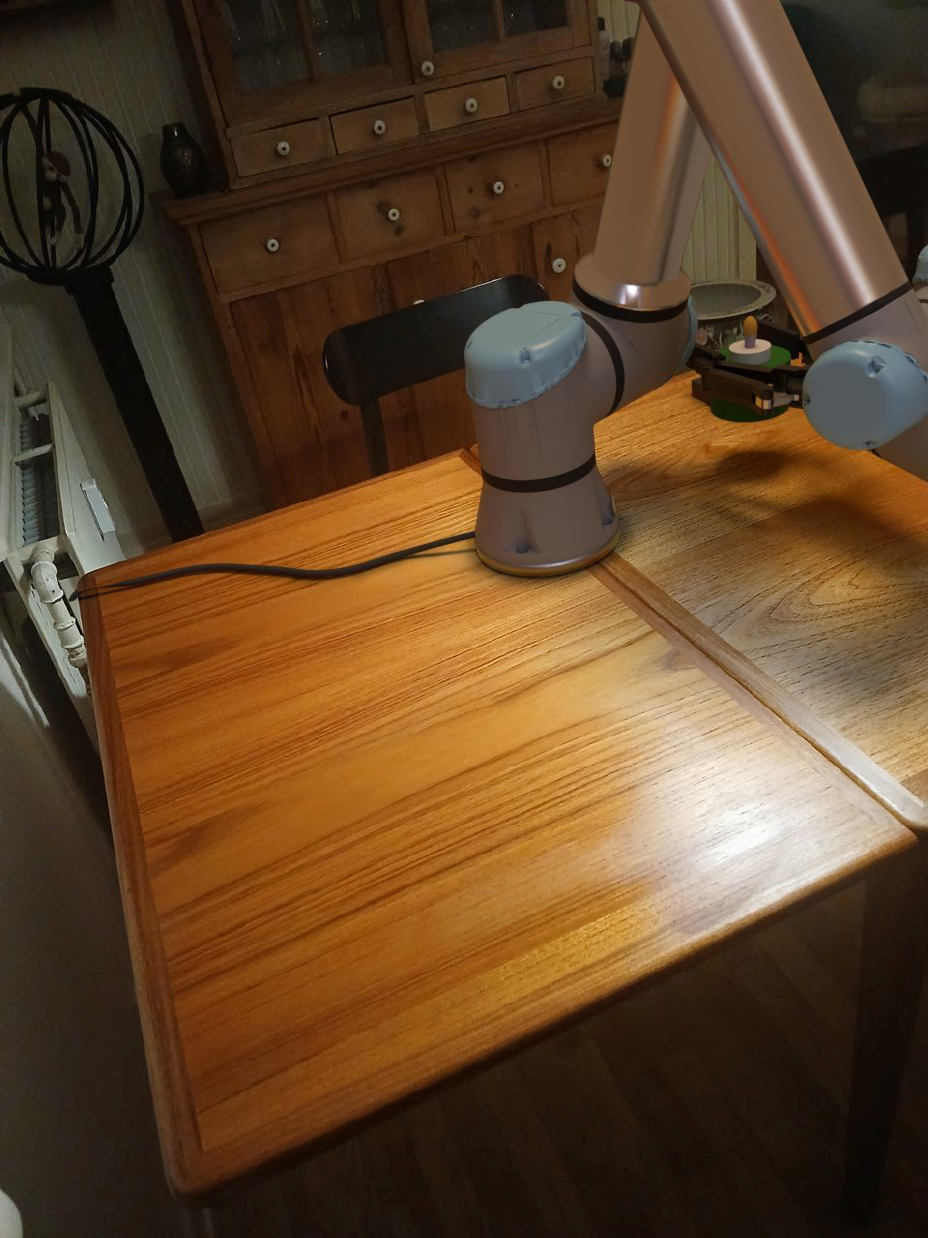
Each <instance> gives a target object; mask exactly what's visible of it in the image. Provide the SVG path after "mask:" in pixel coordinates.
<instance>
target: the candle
mask: <svg viewBox="0 0 928 1238" xmlns="http://www.w3.org/2000/svg"><path fill="white" fill-rule="evenodd" d="M742 332H743V334H744V339H743V340H739V341H735V342H733V343H732V344H730V345H729V346H728V348H725V349H722V350H720V351H718V352H719V353H722V354H723V355H725V356H726V361H731V362H738V363H744V364H751V365H758V366H765V367H772V368H775V367H777V366H778V365H780V364H786V365H792V359H791V354H790V352H789V351H788V350H786V349H784V348H781V347H778V346H773V345H771V343H770V342H768V341H765V340H759V339H757V319H756V318H755V317H754V316H753V315H749V316H747V317H746V318H745V319H744V322H743V326H742ZM785 377H786V375H784V391H785ZM709 408H710V413H711V414H712V415H713V416H714V417H715V418H718V419H719V420H723V421H725V422H731V423H741V424H743V423H745V424H747V423H759V422H765V421H768V420H773V419H775V418H778V417H779V416H781V415H783V414H785V413H786V412H788V410H789V408H790V407H789V406H787V405H786V404H785V405H781V406H777V407H773V415H772V416H768V417H764V416H761V415H759V414H758V413H757V412H755V411H754V410H753V409H750V408H747V407H743V406H740V405H737V404H734V403H731V402H728V401H725V400H722V399H719V398H716V397H713V396H710V405H709Z"/></svg>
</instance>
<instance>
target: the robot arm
mask: <svg viewBox="0 0 928 1238" xmlns="http://www.w3.org/2000/svg"><path fill="white" fill-rule="evenodd" d="M623 1H625V2H629V3H634V4H637V5H638V6H639V11H638V12H639V13H638V18H637V22H636V27H635V33H634V39H633V43H632V44H633V45H632V49H631V54H630V60H629V65H628V68H627V69H628V70H627V75H626V80H625V86H624V91H623V96H622V101H621V106H620V112H619V117H618V122H617V126H616V127H617V128H616V131H615V132H616V133H615V138H614V142H613V147H612V154H611V159H610V163H609V168H608V174H607V178H606V179H607V180H606V183H605V189H604V195H603V199H602V200H603V201H602V205H601V210H600V216H599V221H598V227H597V231H596V237H595V241H594V247H593V250H591V251H589V252H588V253H586V254H585V255H583V256H582V257H580V258H579V259H578V260H577V262H576V264H575V266H574V271H573V277H572V282H571V287H570V292H569V298H568V301H567V302H564V301H557V300H543V301H536V302H530V303H524V304H523V305H522V306H520V307H518V308H515V307H511V308H508V309H505V310H503V311H501V312H499V313H497V314H495V315H493V316H491V317H489V318H488V319H486V320H485V321H483V322H482V323H480V325H478V326H477V327H476V328H475V329H474V331H472V333H470V335H469V337H468V339H467V341H466V343H465V346H464V351H463V358H464V359H463V360H464V368H465V379H464V384H465V385H464V386H465V389H466V393H467V396H468V400H469V407H470V413H471V418H472V424H473V429H474V435H475V440H476V445H477V453H478V459H479V464H480V465H479V466H480V470H481V471H480V472H481V479H482V486H481V492H480V497H479V503H478V508H477V514H476V520H475V525H474V530H472V531H468V532H463V533H459V534H456V535H452V536H448V537H444V538H440V539H436V540H433V541H430V542H427V543H423V544H420V545H416V546H413V547H408V548H406V549H401V550H398V551H395V552H391V553H389V554H385V555H382V556H379V557H376V558H372V559H370V560H366V561H363V562H360V563H356V564H353V565H347V566H343V567H335V568H328V569H303V568H295V567H287V566H280V565H265V564H263V565H262V564H249V563H248V564H247V563H231V562H229V563H228V562H218V563H217V562H216V563H204V564H203V563H202V564H195V565H187V566H182V567H177V568H172V569H167V570H164V571H160V572H156V573H153V574H147V575H143V576H139V577H133V578H129V579H123V580H124V581H122V582H119V583H115V584H112V585H108V586H103V587H98V588H97V589H103V588H104V589H105V588H121V587H122V588H124V587H131V586H137V585H141V584H146V583H150V582H155V581H157V580H162V579H165V578H166V579H167V578H170V577H175V576H179V575H185V574H190V573H197V572H206V571H243V572H253V573H254V572H256V573H257V572H258V573H273V574H282V575H283V574H284V575H290V576H296V577H297V576H298V577H307V578H322V577H324V578H325V577H334V576H341V575H346V574H352V573H356V572H359V571H363V570H367V569H370V568H372V567H376V566H379V565H382V564H385V563H388V562H391V561H394V560H398V559H402V558H405V557H408V556H412V555H416V554H419V553H423V552H426V551H430V550H433V549H437V548H440V547H444V546H448V545H451V544H455V543H460V542H463V541H468V540H471V539H474V543H475V547H476V548H475V549H476V553H477V555H478V557H479V558H480V560H481V561H482V562H483V563H484V564H485V565H487V566H488V567H489V568H491V569H493V570H495V571H498V572H500V573H503V574H507V575H511V576H517V577H526V578H527V577H528V578H537V577H538V578H539V577H540V578H542V577H553V576H558V575H564V574H568V573H572V572H575V571H579V570H582V569H584V568H587V567H588V566H591V565H594V564H595V563H597V562H599V561H601V560H602V559H603V558H605V557H606V556H607V555H609V554H610V553H611V552H612V551H613V550H614V549H615V548H616V546H617V544H618V542H619V540H620V537H621V528H620V527H621V524H620V517H619V513H618V510H617V507H616V502H615V498H614V495H613V493H612V490H610V491H609V490H608V488H607V485H606V483H605V481H604V479H603V477H602V474H601V472H600V470H599V468H598V464H597V454H596V442H595V431H594V428H595V425H597V424H598V423H600V422H601V421H603V420H605V419H606V418H608V417H609V416H611V415H613V414H614V413H617V412H618V411H620V410H622V409H624V408H626V407H627V406H629V405H631V404H632V403H634V402H636V401H638V400H639V399H641V398H643V397H644V396H646V395H648V394H650V393H651V392H653V391H656V390H659V389H660V388H661V387H663V386H664V385H666V383H668V382H669V381H670V380H671V379H672V378H673V377H674V376H675V375H676V374H677V373H678V372H680V371H681V370H682V369H683V368H684V366H685V367H686V368H688V369H691V370H693V371H694V372H695V374H696V375H699V376H700V377H701V392H702V393H704V394H707V395H710V396H713V397H716V398H719V399H722V400H725V401H728V402H731V403H734V404H737V405H740V406H743V407H747V408H750V409H753V410H754V411H755V412H757V413H758V414H759V415H761V416H764V417H768V416H772V415H773V407H777V406H781V405H785V404H786V405H787V406H789V408H791V409H796V410H797V409H798V410H803V413H804V415H805V418H806V420H807V421H808V423H809V425H810V426H811V427H812V429H813V430H814V431H815V433H816V434H818V435H819V436H820V437H821V438H822V439H824V440H825V441H826V442H828V443H829V444H831V445H834V446H835V447H838V448H840V449H844V450H847V451H848V450H849V451H866V452H868V453H869V454H872V455H874V456H875V457H877V458H879V459H881V460H883V461H885V462H887V463H889V464H891V465H893V466H895V467H897V468H898V469H900V470H902V471H904V472H906V473H908V474H911V475H912V476H914V477H916V478H918V479H919V480H922V481H924V482H925V483H928V244H927V245H926V246H925V247H923V248H922V250H921V251H920V253H919V255H918V257H917V261H916V267H915V268H916V269H915V274H914V276H913V277H912V282H911V281H910V280H909V278H908V276H907V274H906V272H905V269H904V267H903V265H902V264H901V261H900V258H899V257H898V255H897V252H896V250H895V248H894V246H893V244H892V242H891V239H890V237H889V235H888V233H887V231H886V229H885V226H884V224H883V222H882V220H881V217H880V216H879V213H878V211H877V209H876V207H875V204H874V203H873V200H872V198H871V196H870V193H869V192H868V189H867V188H866V184H865V183H864V181H863V179H862V176H861V174H860V172H859V169H858V168H857V166H856V164H855V161H854V159H853V157H852V154H851V153H850V150H849V149H848V145H847V144H846V141H845V139H844V137H843V135H842V133H841V131H840V129H839V126H838V124H837V123H836V120H835V118H834V115H833V114H832V111H831V109H830V107H829V105H828V103H827V101H826V98H825V95H824V94H823V92H822V90H821V88H820V85H819V83H818V81H817V78H816V77H815V75H814V73H813V70H812V68H811V66H810V64H809V61H808V60H807V58H806V55H805V53H804V51H803V48H802V46H801V44H800V42H799V40H798V37H797V35H796V33H795V31H794V29H793V27H792V25H791V23H790V20H789V18H788V16H787V13H786V11H785V10H784V7H783V5H782V4H781V0H623ZM711 156H713V158H714V160H715V162H716V164H717V166H718V168H719V171H720V172H721V174H722V177H723V179H724V181H725V183H726V185H727V187H728V189H729V191H730V193H731V195H732V197H733V199H734V201H735V203H736V205H737V207H738V210H739V211H740V213H741V215H742V218H743V220H744V221H745V223H746V225H747V227H748V229H749V231H750V234H751V235H752V237H753V239H754V242H755V244H756V246H757V248H758V251H759V252H760V254H761V256H762V258H763V261H764V262H765V264H766V266H767V268H768V270H769V272H770V274H771V276H772V278H773V281H774V282H775V285H776V287H777V289H778V291H779V292H780V294H781V297H782V299H783V301H784V303H785V305H786V307H787V308H788V309H787V310H788V311H789V313H790V315H791V317H792V319H793V321H794V324H795V325H796V327H797V329H798V331H796V330H792V329H790V328H787V327H785V326H782V325H780V324H777V323H774V322H771V321H769V320H765V319H763V318H762V319H758V320H756V323H757V332H756V339H759V340H765V341H768V342H770V343H771V345H773V346H778V347H781V348H784V349H786V350H788V351H789V352H790V354H791V361H794V360H795V361H796V360H797V359H798V360H799V359H800V354H801V361H800V362H801V363H800V365H802V366H800V365H793V364H791V365H786V364H780V365H778V366H777V367H775V368H772V367H765V366H758V365H751V364H744V363H738V362H731V361H726V356H725V355H723V354H722V353H719V352H720V351H716V350H714V349H712V348H710V347H707V346H705V345H703V344H700V343H698V342H697V338H698V332H699V320H698V319H699V318H698V313H697V311H695V310H694V309H693V306H692V304H693V303H694V300H693V297H692V294H691V292H692V281H691V278H690V276H689V275H688V273H687V272H686V271H685V269H684V268H683V267H682V265H683V262H684V258H685V257H684V256H685V252H686V250H687V246H688V243H689V239H690V236H691V235H690V234H691V231H692V227H693V223H694V219H695V216H696V213H697V208H698V204H699V201H700V197H701V194H702V191H703V190H702V189H703V187H704V182H705V179H706V175H707V171H708V167H709V164H710V159H711ZM911 283H912V284H911ZM784 375H786V377H785V391H784ZM94 589H96V588H92V589H88V590H84V591H80V592H78V588H76V589H75V590H74V591H73V592H72V593H71V594H70V595H69V598H68V600H67V602H69V603H71V602H75V601H76V600H77V599H78V598H79V596H81V595H82V594H83V593H86V592H88V591H91V590H94Z"/></svg>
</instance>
